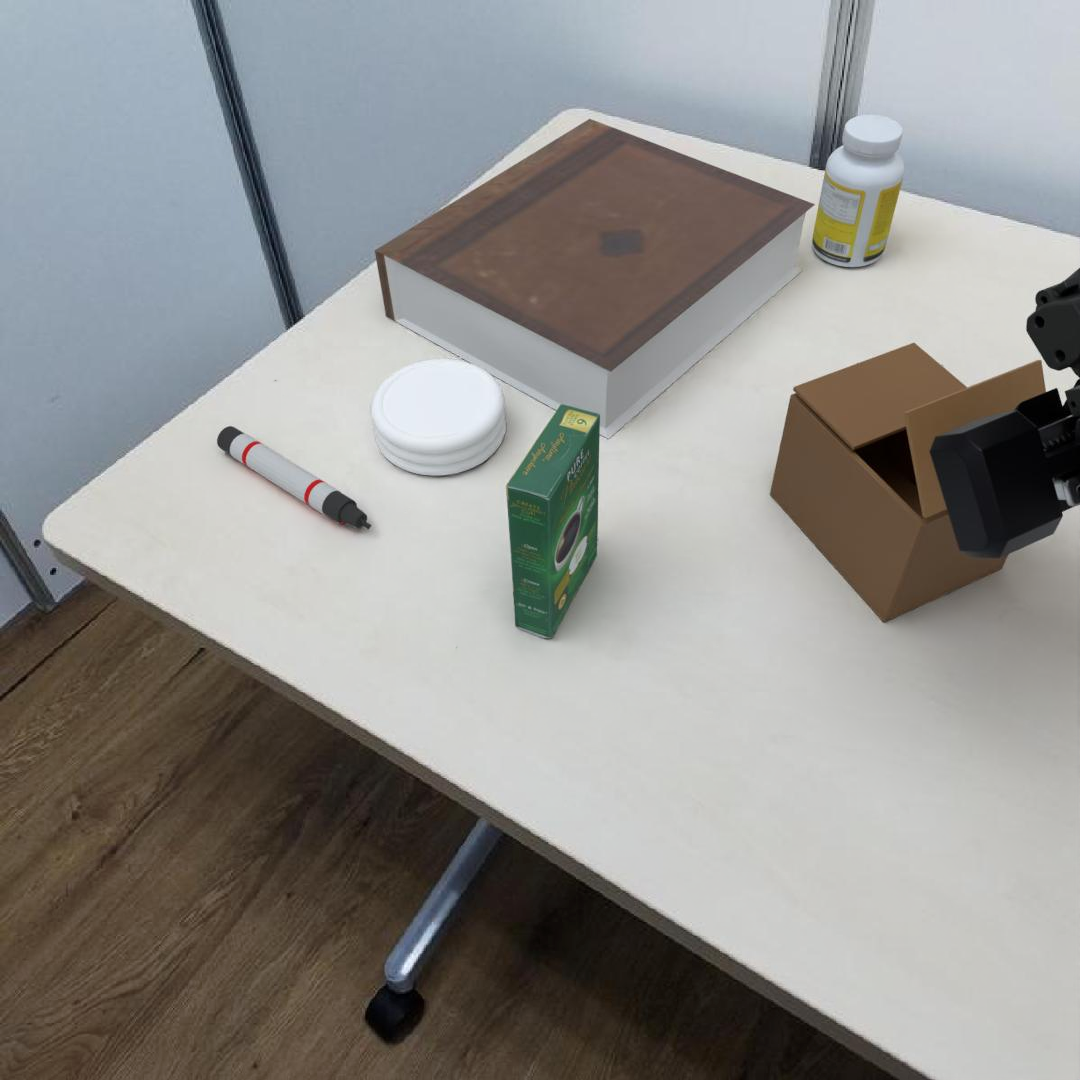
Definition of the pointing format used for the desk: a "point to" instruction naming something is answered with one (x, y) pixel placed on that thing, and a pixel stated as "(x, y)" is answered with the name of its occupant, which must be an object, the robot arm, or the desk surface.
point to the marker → (292, 478)
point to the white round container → (438, 416)
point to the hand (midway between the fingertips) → (986, 449)
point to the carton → (871, 482)
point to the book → (594, 269)
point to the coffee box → (554, 519)
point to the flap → (963, 421)
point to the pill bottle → (859, 192)
